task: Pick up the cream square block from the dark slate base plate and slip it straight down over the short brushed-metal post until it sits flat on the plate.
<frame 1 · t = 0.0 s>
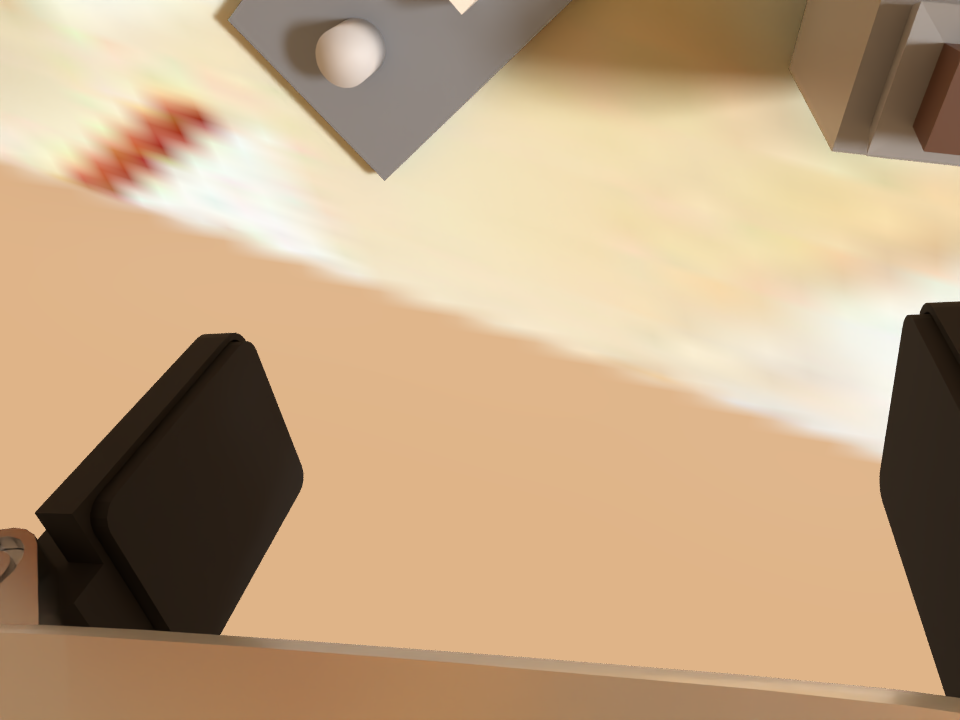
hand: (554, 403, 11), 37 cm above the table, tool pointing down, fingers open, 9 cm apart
perfume bottle: (872, 7, 40), on the table
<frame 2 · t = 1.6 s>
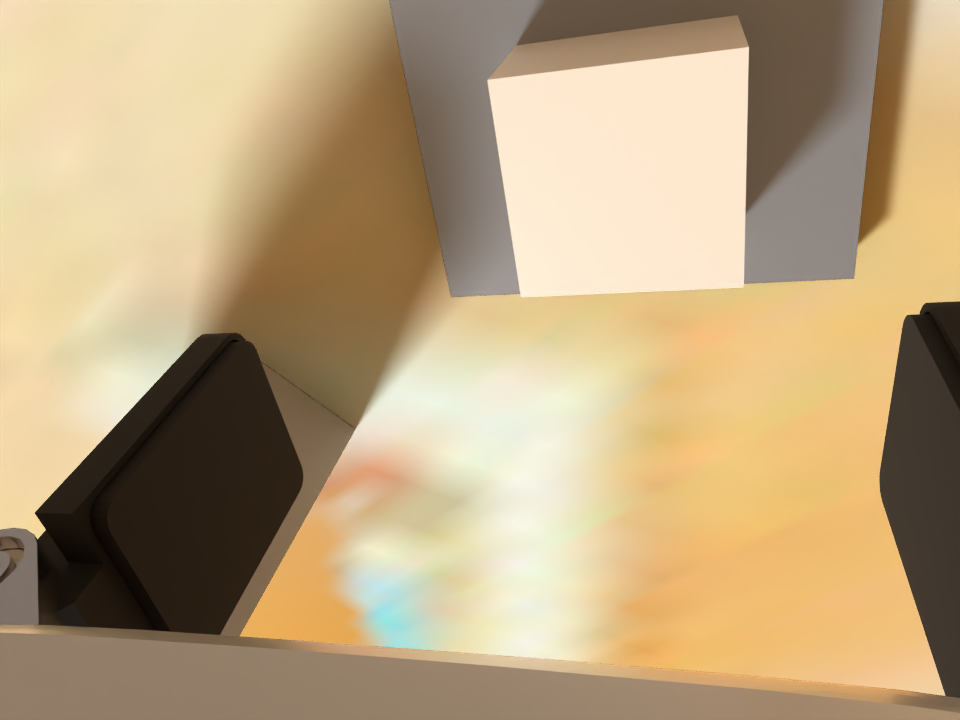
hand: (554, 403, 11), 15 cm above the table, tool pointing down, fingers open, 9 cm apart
cream square block: (629, 138, 22), point 1 cm above the table, touching post base
perfume bottle: (260, 423, 35), on the table
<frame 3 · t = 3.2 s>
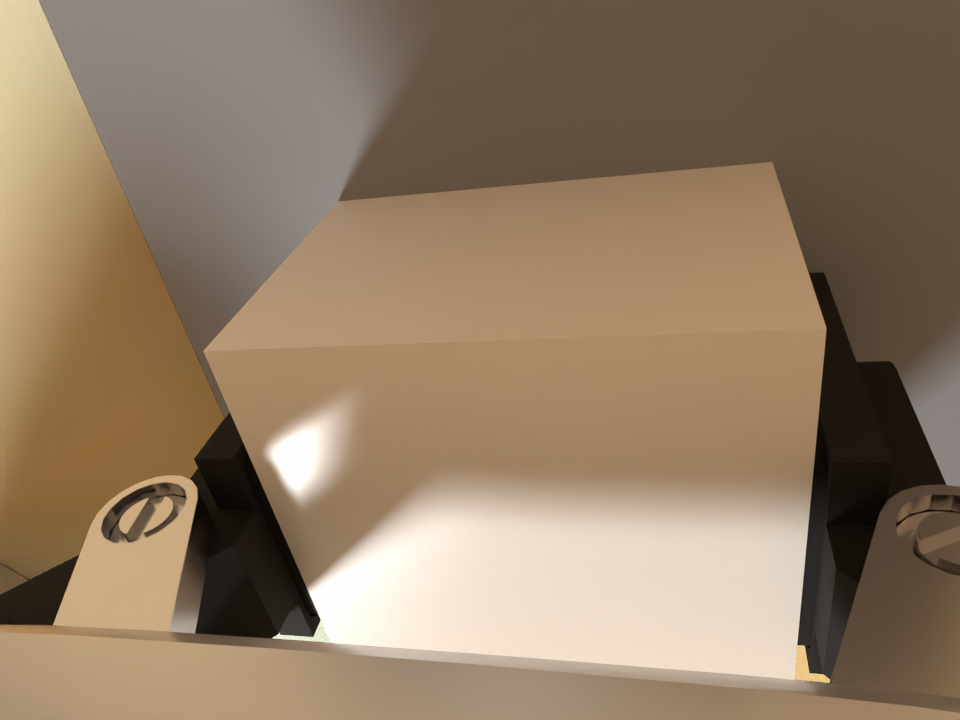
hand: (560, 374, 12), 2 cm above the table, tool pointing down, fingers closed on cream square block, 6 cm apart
cream square block: (562, 363, 12), point 1 cm above the table, touching gripper, post base
perfume bottle: (69, 655, 24), on the table
post base: (535, 5, 10), on the table
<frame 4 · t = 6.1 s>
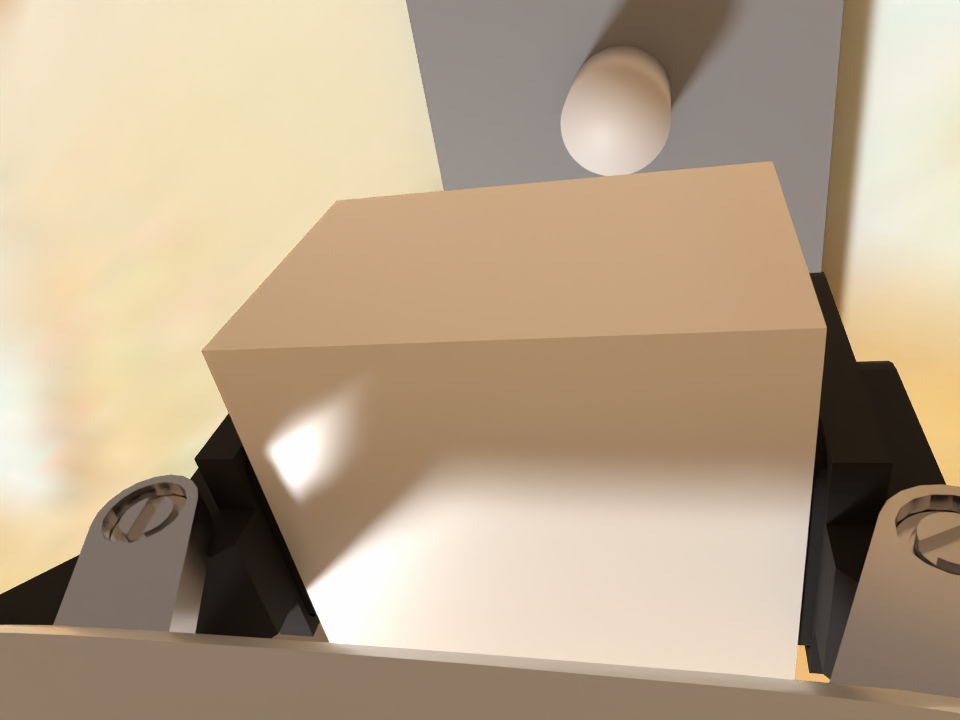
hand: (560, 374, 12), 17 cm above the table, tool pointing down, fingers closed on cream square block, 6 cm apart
cream square block: (562, 363, 12), point 17 cm above the table, touching gripper
perfume bottle: (330, 525, 42), on the table
post base: (630, 222, 28), on the table
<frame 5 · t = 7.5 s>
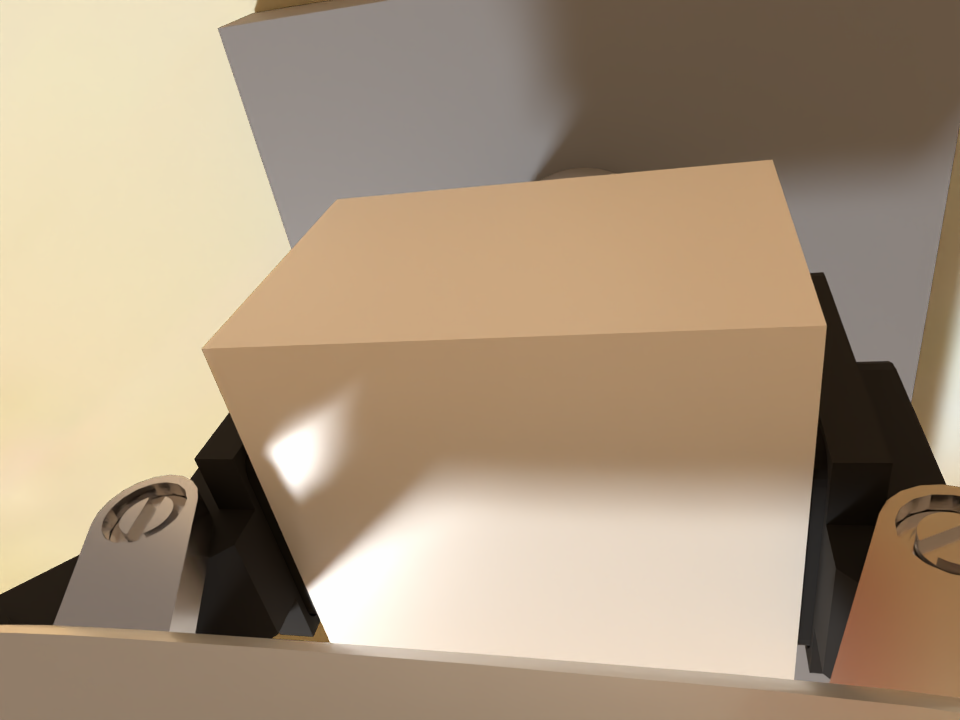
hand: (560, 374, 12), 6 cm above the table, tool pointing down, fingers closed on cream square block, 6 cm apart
cream square block: (562, 362, 12), point 6 cm above the table, touching gripper
post base: (607, 396, 19), on the table
when the fingers open (3 cm above the table, at t = 8.9 s): cream square block stays where it is, resting on post base.
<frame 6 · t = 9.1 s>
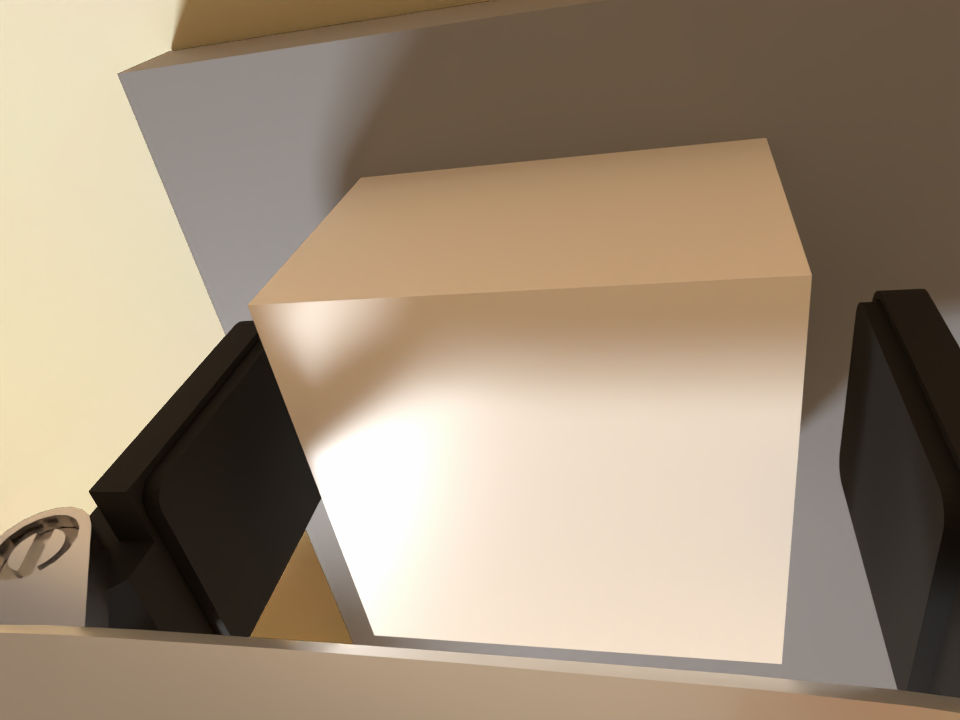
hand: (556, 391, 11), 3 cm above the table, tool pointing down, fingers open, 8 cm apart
cream square block: (570, 331, 13), point 1 cm above the table, touching post base
post base: (599, 487, 17), on the table
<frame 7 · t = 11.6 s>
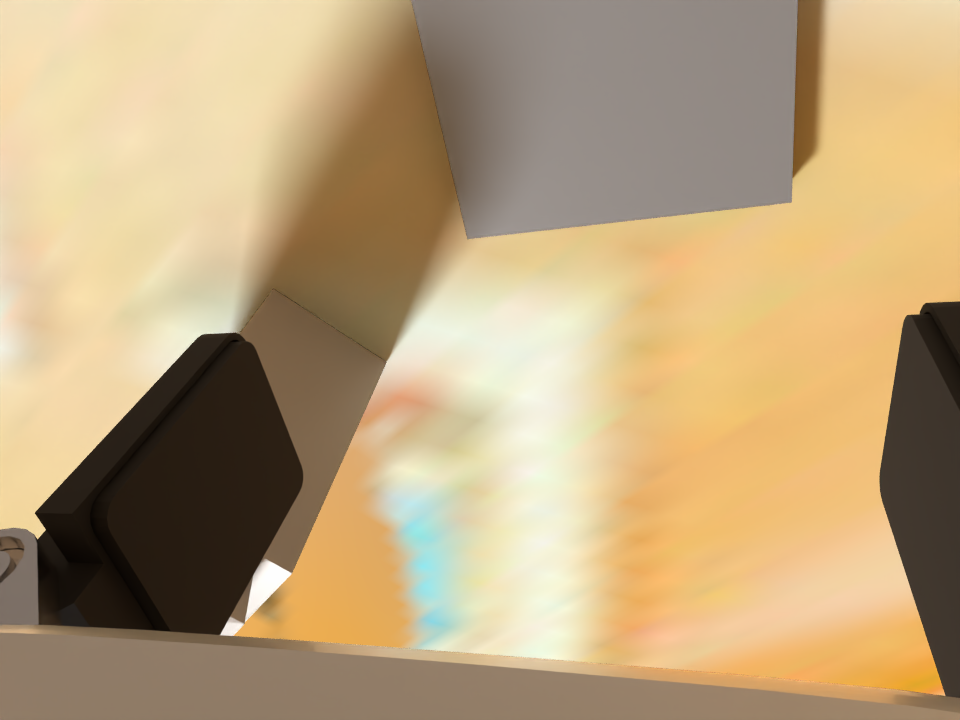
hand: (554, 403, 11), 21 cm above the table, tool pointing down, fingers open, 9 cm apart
perfume bottle: (303, 363, 40), on the table
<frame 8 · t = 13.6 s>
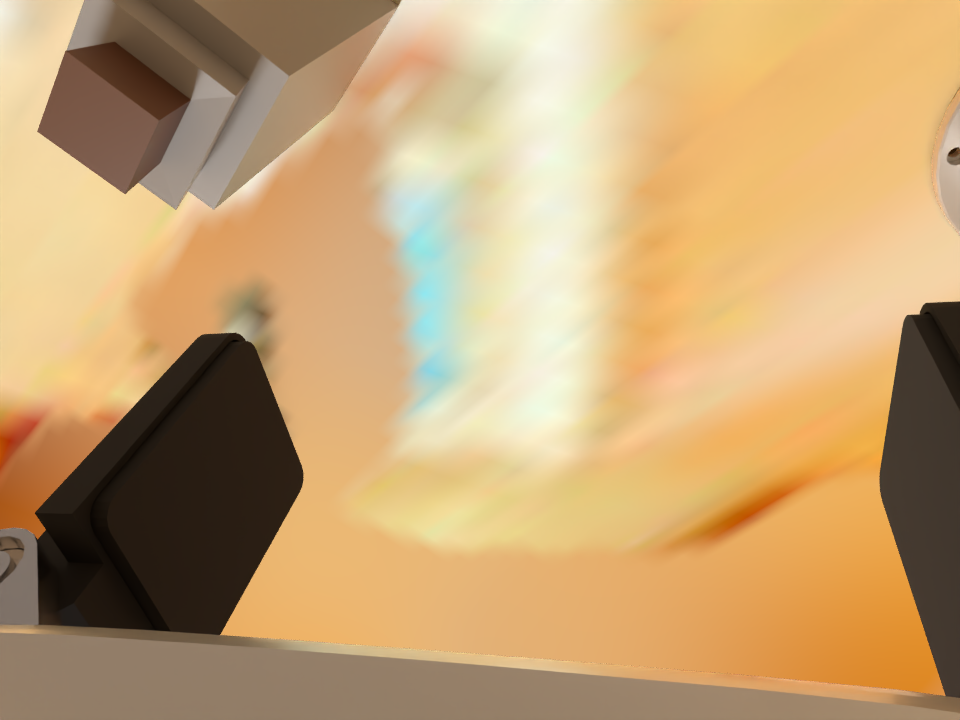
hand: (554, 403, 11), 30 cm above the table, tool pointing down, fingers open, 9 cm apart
perfume bottle: (311, 15, 39), on the table
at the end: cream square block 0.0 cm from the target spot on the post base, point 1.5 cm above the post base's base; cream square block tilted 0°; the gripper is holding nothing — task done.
